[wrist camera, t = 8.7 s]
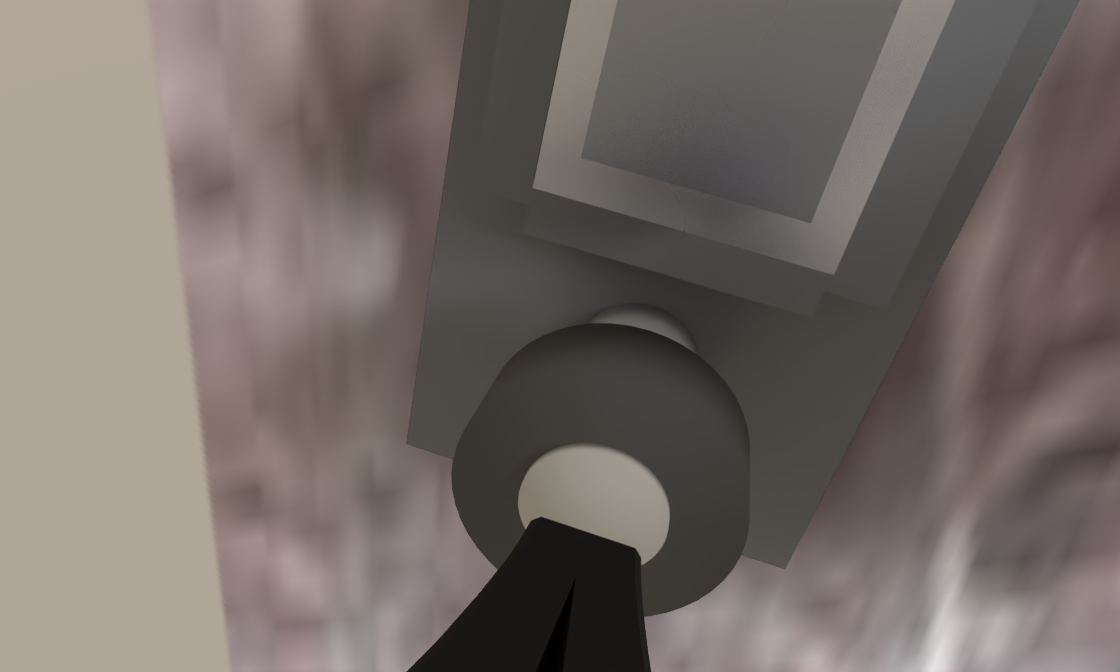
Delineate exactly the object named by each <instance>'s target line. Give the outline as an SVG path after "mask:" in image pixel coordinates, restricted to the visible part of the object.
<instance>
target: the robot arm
mask: <svg viewBox="0 0 1120 672" xmlns="http://www.w3.org/2000/svg"><path fill="white" fill-rule="evenodd" d="M407 672H651V668H650V661H649V655H648V647H647V639H646V631H645V623H644V613H643V602H642V586H641V556H640V555H639V553H638V551H637V550H636V548H634V547H631V546H628V545H625V544H622V543H619V542H616V541H613V540H610V539H607V538H604V537H601V536H598V535H595V534H592V533H589V532H586V531H583V530H580V529H577V528H574V527H571V526H568V525H565V524H562V523H559V522H556V521H553V520H550V519H547V518H544V517H539V518H536V519H533V520H531V521H530V523H529V525H528V527H527V528H526V530H525V532H524V534H523V535H522V537H521V538H520V540H519V541H518V543H517V544H516V546H515V547H514V549H513V550H512V552H511V553H510V555H509V556H508V557H507V559H506V560H505V562H504V563H503V564H502V566H501V567H500V568H499V569H498V571H497V572H496V573H495V574H494V576H493V577H492V578H491V579H490V581H489V582H488V583H487V584H486V586H485V587H484V588H483V589H482V591H481V592H480V593H479V594H478V595H477V597H476V598H475V599H474V600H473V601H472V602H471V603H470V605H469V606H468V607H467V608H466V609H465V610H464V611H463V612H462V614H461V615H460V616H459V617H458V618H457V619H456V620H455V621H454V623H453V624H452V625H451V626H450V627H449V628H448V629H447V631H446V632H445V633H444V634H443V635H442V636H441V637H440V638H439V639H438V640H437V641H436V643H435V644H434V645H433V646H432V647H431V648H430V649H429V650H428V651H427V652H426V653H425V654H424V655H423V656H422V657H421V658H420V659H419V660H418V661H417V662H416V663H415V664H414V665H413V666H412V667H411V668H410V669H409V670H408V671H407Z"/></svg>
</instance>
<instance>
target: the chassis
mask: <svg viewBox="0 0 1120 672" xmlns="http://www.w3.org/2000/svg"><path fill="white" fill-rule="evenodd" d="M1078 2H1079V0H955V2H954V4H953V6H952V9H951V11H950V13H949V15H948V18H947V20H946V22H945V25H944V27H943V29H942V31H941V34H940V36H939V38H938V40H937V43H936V45H935V47H934V49H933V52H932V54H931V56H930V58H929V61H928V63H927V65H926V68H925V70H924V72H923V74H922V77H921V79H920V81H919V83H918V86H917V88H916V90H915V92H914V95H913V97H912V99H911V102H910V104H909V106H908V108H907V111H906V113H905V115H904V117H903V120H902V122H901V124H900V126H899V129H898V131H897V133H896V135H895V138H894V140H893V142H892V145H891V147H890V149H889V151H888V154H887V156H886V158H885V160H884V163H883V165H882V167H881V169H880V172H879V174H878V176H877V179H876V181H875V183H874V185H873V188H872V190H871V192H870V194H869V197H868V199H867V201H866V203H865V206H864V208H863V210H862V212H861V215H860V217H859V219H858V222H857V224H856V226H855V228H854V231H853V233H852V235H851V237H850V240H849V242H848V244H847V246H846V249H845V251H844V253H843V256H842V258H841V260H840V262H839V265H838V267H837V269H836V271H835V274H834V275H832V274H828V273H825V272H822V271H818V270H815V269H811V268H808V267H804V266H801V265H797V264H794V263H790V262H787V261H784V260H780V259H777V258H773V257H770V256H766V255H763V254H759V253H756V252H752V251H749V250H745V249H742V248H739V247H735V246H732V245H728V244H725V243H721V242H718V241H714V240H711V239H707V238H704V237H701V236H697V235H694V234H690V233H687V232H683V231H680V230H676V229H673V228H669V227H666V226H663V225H659V224H656V223H652V222H649V221H645V220H642V219H638V218H635V217H631V216H628V215H625V214H621V213H618V212H614V211H611V210H607V209H604V208H600V207H597V206H593V205H590V204H587V203H583V202H580V201H576V200H573V199H569V198H566V197H562V196H559V195H555V194H552V193H549V192H545V191H542V190H538V189H535V188H533V183H534V179H535V174H536V169H537V164H538V159H539V154H540V149H541V145H542V140H543V135H544V130H545V125H546V120H547V115H548V110H549V106H550V101H551V96H552V91H553V86H554V81H555V76H556V72H557V67H558V62H559V57H560V52H561V47H562V42H563V38H564V33H565V28H566V23H567V18H568V13H569V8H570V3H571V0H470V5H469V12H468V19H467V26H466V33H465V40H464V47H463V54H462V61H461V67H460V74H459V81H458V88H457V95H456V102H455V109H454V116H453V123H452V130H451V137H450V144H449V151H448V158H447V165H446V172H445V179H444V186H443V193H442V200H441V207H440V214H439V221H438V228H437V235H436V242H435V249H434V256H433V263H432V269H431V276H430V283H429V290H428V297H427V304H426V311H425V318H424V325H423V332H422V339H421V346H420V353H419V360H418V367H417V374H416V381H415V388H414V395H413V402H412V409H411V416H410V423H409V430H408V437H407V444H409V445H412V446H415V447H418V448H421V449H424V450H427V451H430V452H433V453H436V454H439V455H442V456H445V457H448V458H451V459H453V458H454V454H455V451H456V447H457V444H458V442H459V440H460V437H461V435H462V433H463V431H464V429H465V428H466V426H467V424H468V423H469V421H470V419H471V418H472V416H473V415H474V413H475V411H476V410H477V408H478V406H479V405H480V403H481V402H482V400H483V398H484V397H485V395H486V393H487V392H488V390H489V389H490V387H491V385H492V384H493V382H494V380H495V379H496V377H497V376H498V374H499V373H500V371H501V370H502V368H503V367H504V365H505V364H506V363H507V362H508V361H509V360H510V359H511V358H512V357H513V356H514V355H515V354H516V353H517V352H518V351H519V350H521V349H522V348H523V347H525V346H526V345H527V344H529V343H530V342H532V341H534V340H536V339H537V338H539V337H541V336H543V335H546V334H548V333H551V332H553V331H555V330H558V329H562V328H566V327H570V326H574V325H582V324H590V323H613V324H621V325H629V326H634V327H638V328H642V329H646V330H650V331H652V332H655V333H658V334H660V335H663V336H666V337H668V338H670V339H672V340H674V341H676V342H678V343H680V344H682V345H684V346H685V347H687V348H688V349H690V350H691V351H693V352H694V353H696V354H697V355H699V356H700V357H701V358H702V359H703V360H705V361H706V362H707V363H708V364H709V365H710V366H711V367H713V368H714V369H715V371H716V372H717V373H718V374H719V375H720V376H721V377H722V378H723V380H724V381H725V382H726V383H727V385H728V386H729V388H730V389H731V391H732V392H733V394H734V395H735V397H736V399H737V401H738V403H739V405H740V407H741V409H742V411H743V414H744V417H745V421H746V424H747V427H748V434H749V440H750V525H749V530H748V536H747V541H746V543H745V546H744V549H743V551H742V554H741V555H744V556H747V557H750V558H753V559H756V560H759V561H762V562H765V563H768V564H771V565H774V566H777V567H780V568H783V569H785V568H786V566H787V564H788V562H789V560H790V558H791V556H792V555H793V553H794V551H795V549H796V547H797V545H798V543H799V541H800V539H801V537H802V535H803V533H804V531H805V529H806V528H807V526H808V524H809V522H810V520H811V518H812V516H813V514H814V512H815V510H816V508H817V506H818V504H819V502H820V500H821V499H822V497H823V495H824V493H825V491H826V489H827V487H828V485H829V483H830V481H831V479H832V477H833V475H834V473H835V472H836V470H837V468H838V466H839V464H840V462H841V460H842V458H843V456H844V454H845V452H846V450H847V448H848V446H849V444H850V443H851V441H852V439H853V437H854V435H855V433H856V431H857V429H858V427H859V425H860V423H861V421H862V419H863V417H864V416H865V414H866V412H867V410H868V408H869V406H870V404H871V402H872V400H873V398H874V396H875V394H876V392H877V390H878V388H879V387H880V385H881V383H882V381H883V379H884V377H885V375H886V373H887V371H888V369H889V367H890V365H891V363H892V361H893V360H894V358H895V356H896V354H897V352H898V350H899V348H900V346H901V344H902V342H903V340H904V338H905V336H906V334H907V333H908V331H909V329H910V327H911V325H912V323H913V321H914V319H915V317H916V315H917V313H918V311H919V309H920V307H921V305H922V304H923V302H924V300H925V298H926V296H927V294H928V292H929V290H930V288H931V286H932V284H933V282H934V280H935V278H936V277H937V275H938V273H939V271H940V269H941V267H942V265H943V263H944V261H945V259H946V257H947V255H948V253H949V251H950V249H951V248H952V246H953V244H954V242H955V240H956V238H957V236H958V234H959V232H960V230H961V228H962V226H963V224H964V222H965V221H966V219H967V217H968V215H969V213H970V211H971V209H972V207H973V205H974V203H975V201H976V199H977V197H978V195H979V193H980V192H981V190H982V188H983V186H984V184H985V182H986V180H987V178H988V176H989V174H990V172H991V170H992V168H993V166H994V165H995V163H996V161H997V159H998V157H999V155H1000V153H1001V151H1002V149H1003V147H1004V145H1005V143H1006V141H1007V139H1008V138H1009V136H1010V134H1011V132H1012V130H1013V128H1014V126H1015V124H1016V122H1017V120H1018V118H1019V116H1020V114H1021V112H1022V110H1023V109H1024V107H1025V105H1026V103H1027V101H1028V99H1029V97H1030V95H1031V93H1032V91H1033V89H1034V87H1035V85H1036V83H1037V82H1038V80H1039V78H1040V76H1041V74H1042V72H1043V70H1044V68H1045V66H1046V64H1047V62H1048V60H1049V58H1050V56H1051V54H1052V53H1053V51H1054V49H1055V47H1056V45H1057V43H1058V41H1059V39H1060V37H1061V35H1062V33H1063V31H1064V29H1065V27H1066V26H1067V24H1068V22H1069V20H1070V18H1071V16H1072V14H1073V12H1074V10H1075V8H1076V6H1077V4H1078Z"/></svg>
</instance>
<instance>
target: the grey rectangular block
mask: <svg viewBox="0 0 1120 672" xmlns="http://www.w3.org/2000/svg"><path fill="white" fill-rule="evenodd" d="M954 2H955V0H571V3H570V8H569V13H568V18H567V23H566V28H565V33H564V38H563V42H562V47H561V52H560V57H559V62H558V67H557V72H556V76H555V81H554V86H553V91H552V96H551V101H550V106H549V110H548V115H547V120H546V125H545V130H544V135H543V140H542V145H541V149H540V154H539V159H538V164H537V169H536V174H535V179H534V183H533V188H535V189H538V190H542V191H545V192H549V193H552V194H555V195H559V196H562V197H566V198H569V199H573V200H576V201H580V202H583V203H587V204H590V205H593V206H597V207H600V208H604V209H607V210H611V211H614V212H618V213H621V214H625V215H628V216H631V217H635V218H638V219H642V220H645V221H649V222H652V223H656V224H659V225H663V226H666V227H669V228H673V229H676V230H680V231H683V232H687V233H690V234H694V235H697V236H701V237H704V238H707V239H711V240H714V241H718V242H721V243H725V244H728V245H732V246H735V247H739V248H742V249H745V250H749V251H752V252H756V253H759V254H763V255H766V256H770V257H773V258H777V259H780V260H784V261H787V262H790V263H794V264H797V265H801V266H804V267H808V268H811V269H815V270H818V271H822V272H825V273H828V274H832V275H834V274H835V271H836V269H837V267H838V265H839V262H840V260H841V258H842V256H843V253H844V251H845V249H846V246H847V244H848V242H849V240H850V237H851V235H852V233H853V231H854V228H855V226H856V224H857V222H858V219H859V217H860V215H861V212H862V210H863V208H864V206H865V203H866V201H867V199H868V197H869V194H870V192H871V190H872V188H873V185H874V183H875V181H876V179H877V176H878V174H879V172H880V169H881V167H882V165H883V163H884V160H885V158H886V156H887V154H888V151H889V149H890V147H891V145H892V142H893V140H894V138H895V135H896V133H897V131H898V129H899V126H900V124H901V122H902V120H903V117H904V115H905V113H906V111H907V108H908V106H909V104H910V102H911V99H912V97H913V95H914V92H915V90H916V88H917V86H918V83H919V81H920V79H921V77H922V74H923V72H924V70H925V68H926V65H927V63H928V61H929V58H930V56H931V54H932V52H933V49H934V47H935V45H936V43H937V40H938V38H939V36H940V34H941V31H942V29H943V27H944V25H945V22H946V20H947V18H948V15H949V13H950V11H951V9H952V6H953V4H954Z"/></svg>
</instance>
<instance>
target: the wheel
mask: <svg viewBox="0 0 1120 672" xmlns="http://www.w3.org/2000/svg"><path fill="white" fill-rule="evenodd" d="M452 490H453V494H454V499H455V504H456V507H457V510H458V513H459V516H460V518H461V521H462V523H463V525H464V527H465V528H466V530H467V532H468V534H469V536H470V537H471V539H472V540H473V542H474V543H475V545H476V546H477V548H478V549H479V550H480V551H481V552H482V553H483V555H484V556H485V557H486V558H487V559H488V560H489V561H490V562H491V563H492V564H493V565H494V566H495V567H496V568H497V569H499V568H500V567H501V566H502V564H503V563H504V562H505V560H506V559H507V557H508V556H509V555H510V553H511V552H512V550H513V549H514V547H515V546H516V544H517V543H518V541H519V540H520V538H521V537H522V535H523V534H524V532H525V530H526V528H527V527H528V525H529V523H530V521H531V520H533V519H536V518H539V517H544V518H547V519H550V520H553V521H556V522H559V523H562V524H565V525H568V526H571V527H574V528H577V529H580V530H583V531H586V532H589V533H592V534H595V535H598V536H601V537H604V538H607V539H610V540H613V541H616V542H619V543H622V544H625V545H628V546H631V547H634V548H636V550H637V551H638V553H639V555H640V556H641V586H642V602H643V613H644V616H652V615H657V614H662V613H666V612H670V611H673V610H676V609H679V608H682V607H684V606H686V605H688V604H690V603H692V602H695V601H697V600H699V599H700V598H702V597H703V596H705V595H706V594H708V593H709V592H711V591H712V590H713V589H714V588H715V587H717V586H718V585H719V584H720V583H721V582H722V581H723V580H724V579H725V578H726V577H727V575H728V574H729V573H730V572H731V571H732V569H733V568H734V566H735V565H736V563H737V561H738V559H739V558H740V556H741V554H742V551H743V549H744V546H745V543H746V541H747V536H748V530H749V525H750V440H749V434H748V427H747V424H746V421H745V417H744V414H743V411H742V409H741V407H740V405H739V403H738V401H737V399H736V397H735V395H734V394H733V392H732V391H731V389H730V388H729V386H728V385H727V383H726V382H725V381H724V380H723V378H722V377H721V376H720V375H719V374H718V373H717V372H716V371H715V369H714V368H713V367H711V366H710V365H709V364H708V363H707V362H706V361H705V360H703V359H702V358H701V357H700V356H699V355H697V354H696V353H694V352H693V351H691V350H690V349H688V348H687V347H685V346H684V345H682V344H680V343H678V342H676V341H674V340H672V339H670V338H668V337H666V336H663V335H660V334H658V333H655V332H652V331H650V330H646V329H642V328H638V327H634V326H629V325H621V324H613V323H590V324H582V325H574V326H570V327H566V328H562V329H558V330H555V331H553V332H551V333H548V334H546V335H543V336H541V337H539V338H537V339H536V340H534V341H532V342H530V343H529V344H527V345H526V346H525V347H523V348H522V349H521V350H519V351H518V352H517V353H516V354H515V355H514V356H513V357H512V358H511V359H510V360H509V361H508V362H507V363H506V364H505V365H504V367H503V368H502V370H501V371H500V373H499V374H498V376H497V377H496V379H495V380H494V382H493V384H492V385H491V387H490V389H489V390H488V392H487V393H486V395H485V397H484V398H483V400H482V402H481V403H480V405H479V406H478V408H477V410H476V411H475V413H474V415H473V416H472V418H471V419H470V421H469V423H468V424H467V426H466V428H465V429H464V431H463V433H462V435H461V437H460V440H459V442H458V444H457V447H456V451H455V454H454V458H453V466H452Z"/></svg>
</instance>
